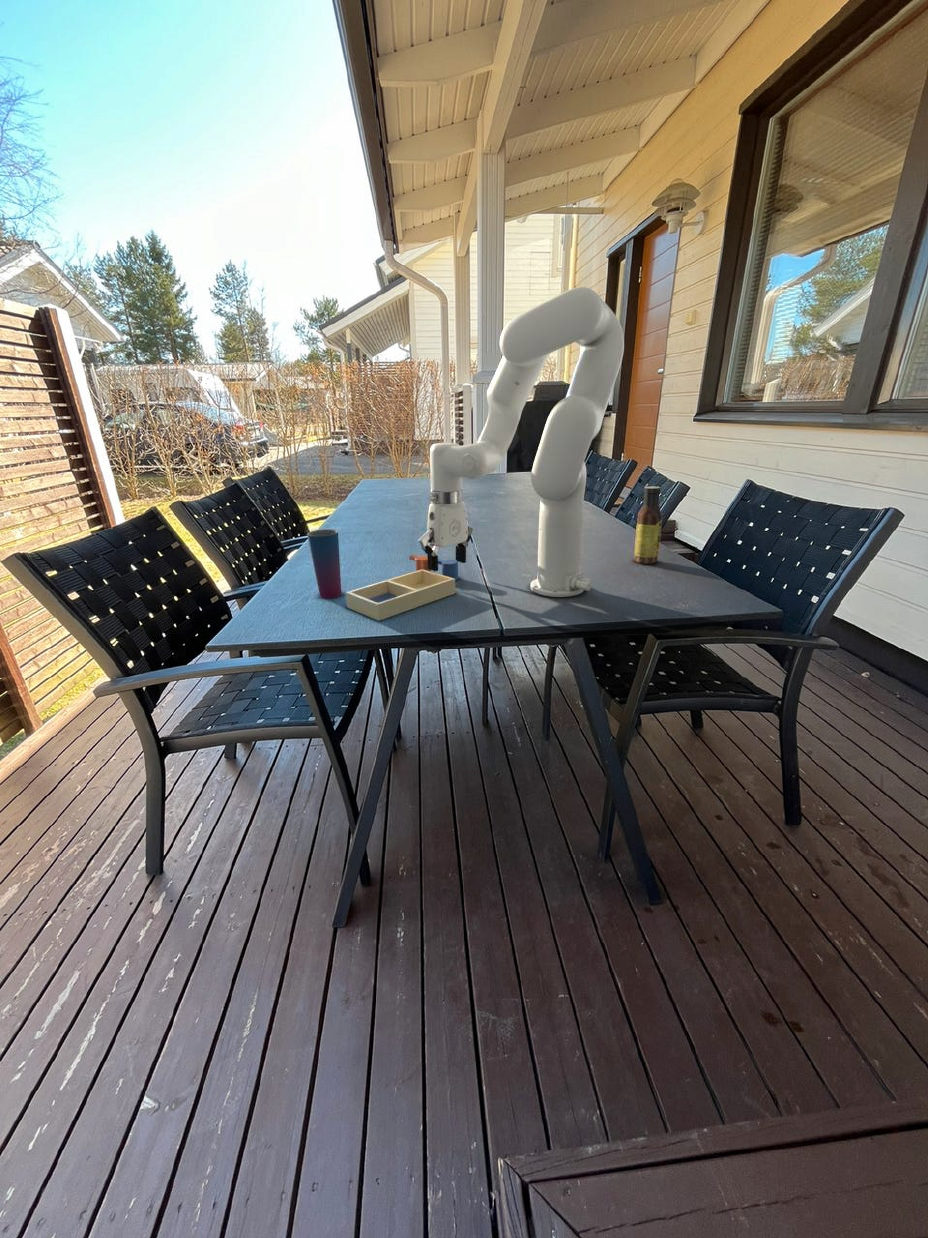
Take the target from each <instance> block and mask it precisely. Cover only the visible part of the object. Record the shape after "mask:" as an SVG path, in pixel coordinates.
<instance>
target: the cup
mask: <svg viewBox="0 0 928 1238" xmlns="http://www.w3.org/2000/svg"><path fill="white" fill-rule="evenodd" d="M306 535H307V541H308V544H309V550H310V555H311V560H312V563H313V564H312V565H313V569H314V574H315V579H316V584H317V589H318V594H319V597H320V598H322V599H336V598H338V597H340V596H342V580H341V579H342V577H341V560H340V542H339V541H340V540H339V531H338V529H333V528H324V529H314V530H311V531H308V532H307V534H306Z"/></svg>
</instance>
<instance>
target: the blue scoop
mask: <svg viewBox="0 0 928 1238" xmlns="http://www.w3.org/2000/svg"><path fill="white" fill-rule="evenodd" d="M438 565H440V566H441V570H442V572H441V573H442V574H441V575H444V576H447V577H451V578H454V579H455V582H456V581H458V580H459V562H458V561H457V560H456V559H441V558H438Z"/></svg>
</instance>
